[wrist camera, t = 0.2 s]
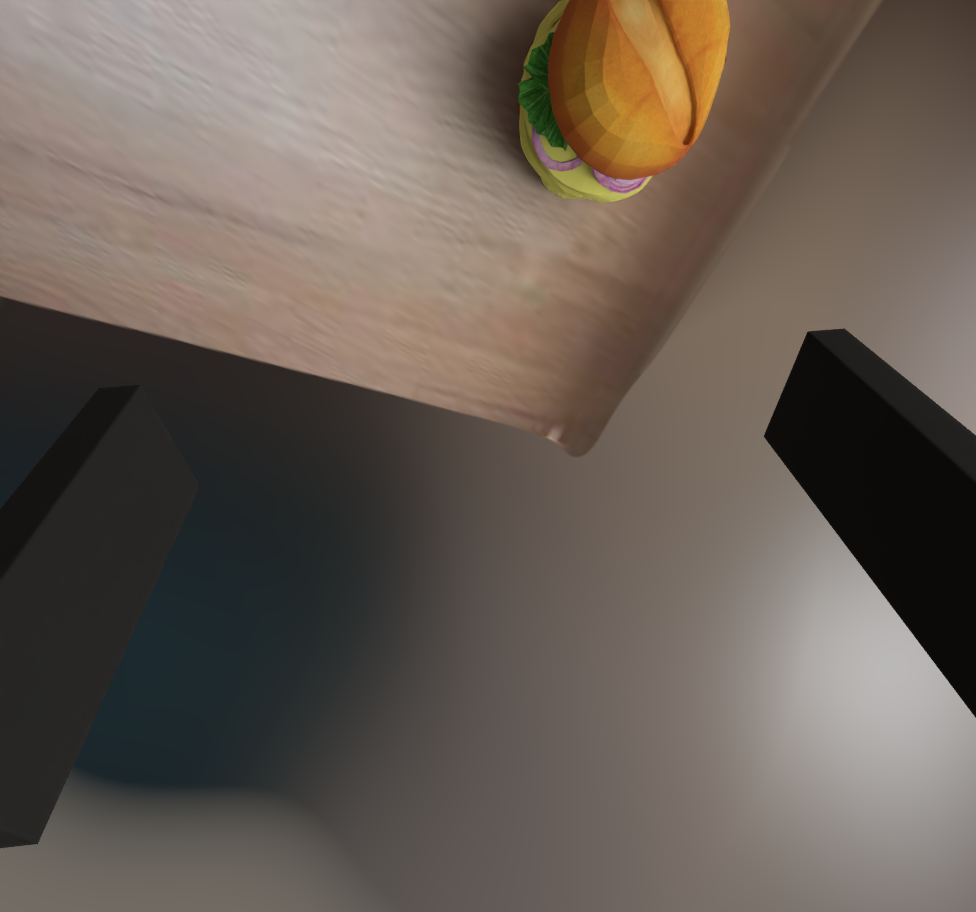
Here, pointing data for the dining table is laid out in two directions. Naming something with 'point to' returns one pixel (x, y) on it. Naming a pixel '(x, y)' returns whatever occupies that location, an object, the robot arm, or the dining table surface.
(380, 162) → the dining table surface
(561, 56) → the cheeseburger
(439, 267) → the dining table surface
